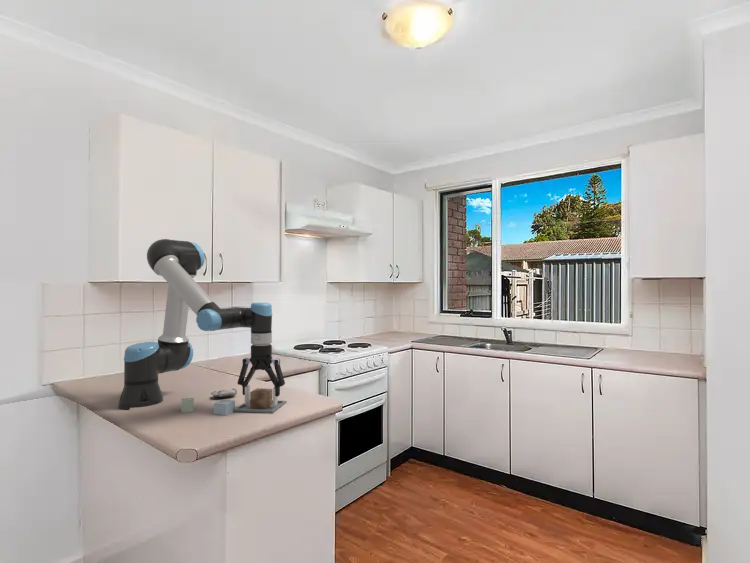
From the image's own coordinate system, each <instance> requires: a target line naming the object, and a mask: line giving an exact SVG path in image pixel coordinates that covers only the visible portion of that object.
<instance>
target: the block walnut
mask: <svg viewBox="0 0 750 563" xmlns="http://www.w3.org/2000/svg"><path fill="white" fill-rule="evenodd" d="M272 400H273V388H262V387H261V388H260V387H257V388H255V389H253V390H250V409H267V408H269V407H270V406H271V405H272Z"/></svg>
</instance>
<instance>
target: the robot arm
mask: <svg viewBox="0 0 750 563" xmlns="http://www.w3.org/2000/svg"><path fill="white" fill-rule="evenodd" d="M146 259H147V264H148V266H149V268H150V269H151V270H152V271H153V272H154V274H155V275H156V276H161V277H162V278H163V280H165V281H166V282H167V284H168V287H167V295H166V302H165V303H166V304H165V310H164V312H165V313H164V319H163V320H164V321H163V328H162V329H163V330H162V334H161V335H160V336H158V338H157V341H144V342H138V343H135V344H131V345H129V346H128V347H126V349H125V350H124V354H123V361H124V365H123V366H124V369H123V371H124V373H123V374H124V375H123V376H124V379H123V382H124V383H123V385H124V386H123V388H122V391H121V394H120V396H119V400H118V408H120V409H122V410H130V409H133V408H134V409H137V408H144V407H150V406H155V405H158V404H160V403H162V402H163V401H164V396H163V394H162V390H161V387H160V384H159V374H164V373H169V372H176V371H179V370H181V369H182V370H183V369H185V368H186V367H188V366H189V365H190V364H191V362H192V360H193V357H194V348H193V345H192V344H191V343H190V342H189V340H190V339H189V338H188V336H186V334H187V333H186V332H187V330H186V329H187V323H188V313H189V308H190V310H191V311H192V312H193V313H194V314H195V315H196V319H195V320H196V321H195V323H196V324H197V327H198V328H199V329H200V330H201V331H204V332H215V331H221V330H229V329H236V328H237V329H238V328H250V344H251V346H250V358H249V357H245V358H243V359H242V366H241V369H240V373H239V376H238V380H237V385H238V386H239V385H240V386H241V387H242V395H243V396H244V403H245V405H247V404H249V403H250V392H251V385H249V383H250V381H251V379H252V378H253V376H254V374H255V373H256V371H259V370H260V371H265V373H267V375H268V377H269V379H270V381H271V382H272V384H273V386H274V387H273V388H272V400H273V406H276V405H277V404H278V398H279V396H280V394H281V392H280V391H281V387H283V386H284V385H286V382H285V378H284V375H283V371H282V368H281V359H280V358H277V359H276V358H273V357H272V355H273V354H272V353H273V352H272V351H273V350H272V349H273V348H272V347H273V345H272V344H271V343H272V342H273V336H272V334H273V331H272V328H273V327H272V326H273V325H272V323H273V311H272V310H273V308H272V304H271V303H270V302H251V304H250V307H240V306H232V307H226V308H225V307H224V308H221V307H220V306H219V305H218V304H217V303H216V302H215V301H214V300H213V299H212V298H211V297H210V296H209V295H208V294H207V293H206V292H205V290H204V289H203V288H202V287H201V286H200V285H199V284H198V283H197V281H196V280H195V279H194V278H195V277H197V275H198V274H197V272H198V271H199V270H200V269H202V267H203V266H204V264H205V260H206V259H205V253H204V250H203V249H202V246H200V245H199V244H198V243H196V242H192V241H189V240H178V239H169V238H163V239H162V238H161V239H158V240H155V241H154V242H153V243H151V245H150V246H149V247H148V249H147V251H146ZM249 364H251V365H252V366H251V367H250V369H249V372H248V373H247V371H248V367H249ZM272 365H273V366H274V369H275V372H274V370H273V367H272ZM275 373H276V374H275Z"/></svg>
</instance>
